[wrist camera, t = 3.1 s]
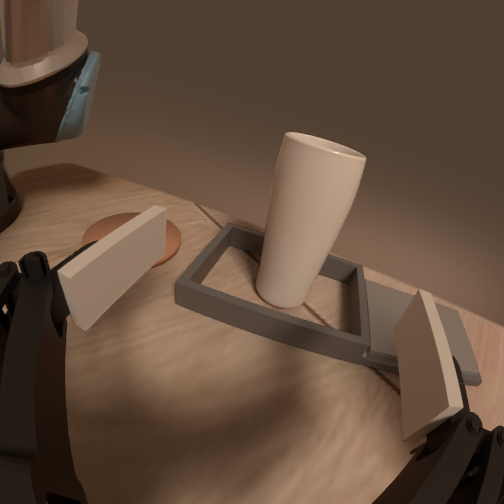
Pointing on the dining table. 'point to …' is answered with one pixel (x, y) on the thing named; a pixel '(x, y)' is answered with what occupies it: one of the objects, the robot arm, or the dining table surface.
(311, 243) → the drinking glass
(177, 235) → the coaster
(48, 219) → the dining table surface
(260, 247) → the open case
